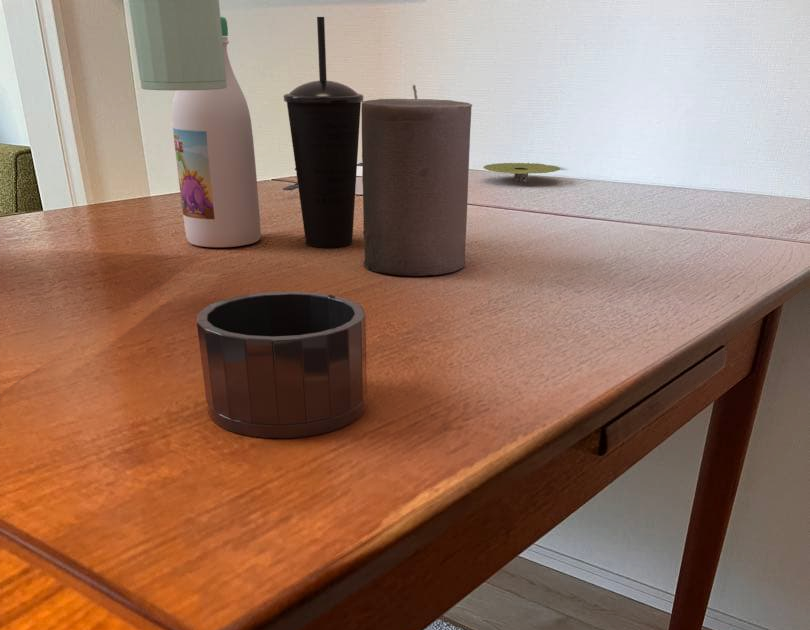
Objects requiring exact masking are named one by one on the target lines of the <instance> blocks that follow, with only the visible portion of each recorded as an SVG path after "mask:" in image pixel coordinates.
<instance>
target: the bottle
mask: <svg viewBox="0 0 810 630" xmlns="http://www.w3.org/2000/svg"><path fill="white" fill-rule="evenodd" d="M128 6H129V13H130V20H131V26H132V33H133V34H132V35H133V40H134V48H135V54H136V55H135V56H136V61H137V67H138V75H139V81H140V87H141V89H142V90H147V91H176V90H212V89H223V88H226V87H227V84H226V70H225V60H224V49H223V39H222V37H223V36H222V28H221V18H220V17H221V10H220V0H128Z"/></svg>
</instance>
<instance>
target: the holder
mask: <svg viewBox="0 0 810 630" xmlns="http://www.w3.org/2000/svg"><path fill="white" fill-rule="evenodd" d="M366 315H367V314H366V312H365V310H364V308H363V306H362V305H360V304H358V303H356V302H355V301H353V300H351V299H348V298H345V297H341V296H338V295H333V294H327V293H320V292H311V291H268V292H258V293H251V294H244V295H238V296H233V297H230V298H229V297H228V298H226V299H222V300H219V301H217V302H213V303H211V304H208V305H206V306H205V307H204V308H203V309H202V310H201V311H199V312H198V313H197V316H196V328H197V336H198V343H199V345H198V346H199V352H200V359H201V368H202V369H201V370H202V375H203V376H202V377H203V384H204V393H205V401H206V403H207V411H208V416H209V418H210V419H211V420H212V422H213V423H215V424H216V425H217V426H219V427H220V428H222V429H224V430H227V431H229V432H232V433H235V434H239V435H243V436H248V437H254V438H261V439H263V438H264V439H296V438H297V439H298V438H306V437H313V436H318V435H323V434H327V433H331V432H334V431H337V430H340V429H343V428H345V427H347V426H349V425H351V424H353V423H355V422H356V421H357V420H358V419H360V418H361V417H362V416H363V414H364V413H365V412H366V408H367V394H368V372H367V369H368V368H367V367H368V366H367V364H368V363H367V319H366V317H367V316H366Z"/></svg>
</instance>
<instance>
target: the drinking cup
mask: <svg viewBox="0 0 810 630" xmlns="http://www.w3.org/2000/svg"><path fill="white" fill-rule="evenodd" d="M316 25H317V28H316V29H317V50H318V51H317V52H318V53H317V54H318V75H319V78H318V79H319V80H313V81H309V82H306V83H302V84H301V85H298V86H297V87H295V88H293V89H292V90H291V91H290V92H289V93H286V94H283V102H285V103H286V106H287V114H288V122H289V129H290V135H291V143H292V151H293V159H294V165H295V166H294V167H295V168H296V170H295V173H296V180H297V183H298V188H297V189H298V194H299V196H298V197H299V202H300V203H299V204H300V211H301V216H302V217H301V218H302V224H303V231H304V240H305V245H307V246H310V247H313V248H323V249H325V248H327V249H328V248H329V249H330V248H331V249H332V248H334V249H335V248H342V247H347V246H350V245H352V244H353V235H354V219H355V203H356V195H355V189H356V173H357V164H358V158H359V157H358V153H359V139H360V138H359V137H360V122H361V109H362V102H364V101H365V100H364V99H365V97H364V96H365V95H363V94H361V93H358V92H357V91H355V90H354V89H353V88H351V87H350V86H348V85H346V84H344V83H340V82H336V81H333V80H327V79H328V78H327V53H326V51H327V50H326V23H325V16H316Z"/></svg>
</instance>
